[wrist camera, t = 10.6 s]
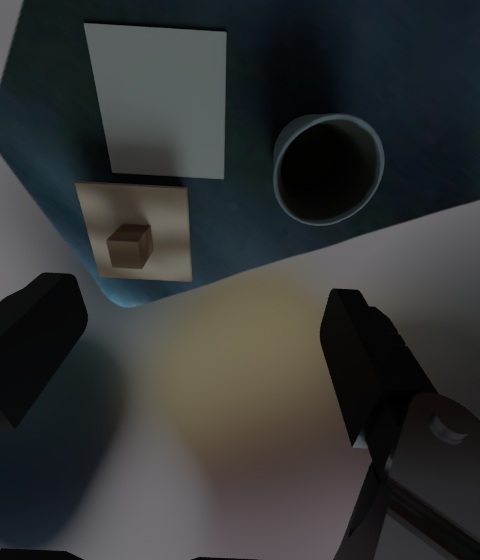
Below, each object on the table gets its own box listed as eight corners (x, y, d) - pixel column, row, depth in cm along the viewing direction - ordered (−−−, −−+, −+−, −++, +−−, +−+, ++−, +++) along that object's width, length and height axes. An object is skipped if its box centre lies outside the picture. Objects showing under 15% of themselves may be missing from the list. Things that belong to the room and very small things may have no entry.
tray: (85, 23, 29) (83, 23, 29) (226, 32, 30) (226, 31, 29) (113, 172, 38) (112, 172, 37) (223, 178, 38) (223, 179, 37)
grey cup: (359, 123, 34) (407, 133, 24) (325, 202, 39) (351, 237, 29) (281, 97, 33) (296, 96, 23) (256, 183, 38) (259, 212, 28)
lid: (78, 181, 33) (48, 195, 28) (187, 187, 33) (177, 202, 28) (102, 273, 40) (82, 297, 35) (192, 278, 40) (184, 303, 35)
